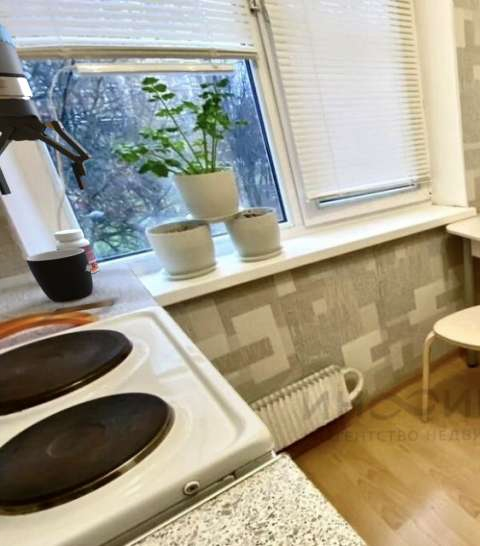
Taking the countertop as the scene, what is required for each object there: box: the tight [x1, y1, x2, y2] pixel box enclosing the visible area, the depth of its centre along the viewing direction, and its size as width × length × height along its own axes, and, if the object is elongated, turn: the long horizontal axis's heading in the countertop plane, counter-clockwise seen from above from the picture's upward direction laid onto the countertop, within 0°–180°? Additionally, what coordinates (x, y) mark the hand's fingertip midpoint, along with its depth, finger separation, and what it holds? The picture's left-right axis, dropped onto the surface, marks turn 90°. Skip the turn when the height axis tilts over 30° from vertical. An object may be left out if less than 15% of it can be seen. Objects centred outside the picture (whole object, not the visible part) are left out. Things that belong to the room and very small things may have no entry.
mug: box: [25, 249, 94, 303], centre depth 94 cm, size 12×9×10 cm
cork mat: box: [49, 299, 115, 317], centre depth 86 cm, size 9×8×1 cm
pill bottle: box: [53, 228, 100, 275], centre depth 108 cm, size 6×6×11 cm
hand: (46, 191), depth 103 cm, fingers open, 13 cm apart
